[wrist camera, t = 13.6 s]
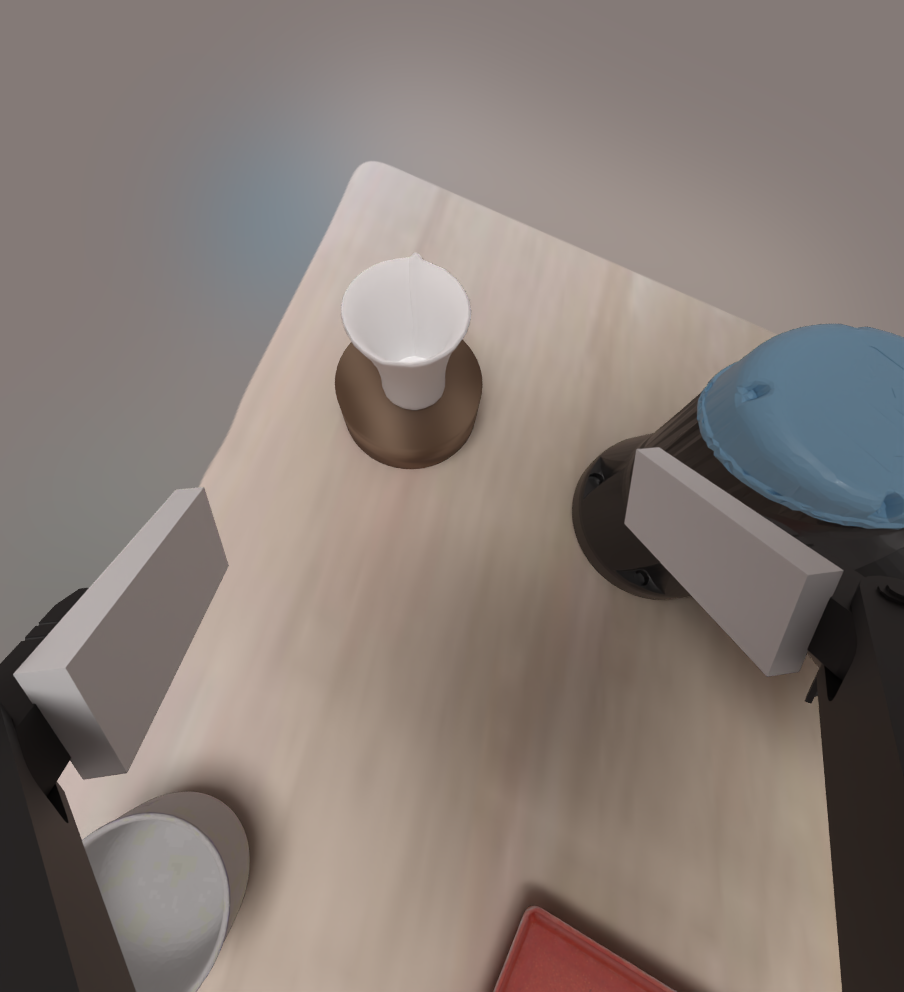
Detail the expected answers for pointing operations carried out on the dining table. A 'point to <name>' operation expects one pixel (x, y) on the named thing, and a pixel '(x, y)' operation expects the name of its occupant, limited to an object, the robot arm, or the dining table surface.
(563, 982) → the plant saucer
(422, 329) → the cup
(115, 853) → the teacup
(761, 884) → the dining table surface
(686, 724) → the dining table surface
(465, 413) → the walnut stand
